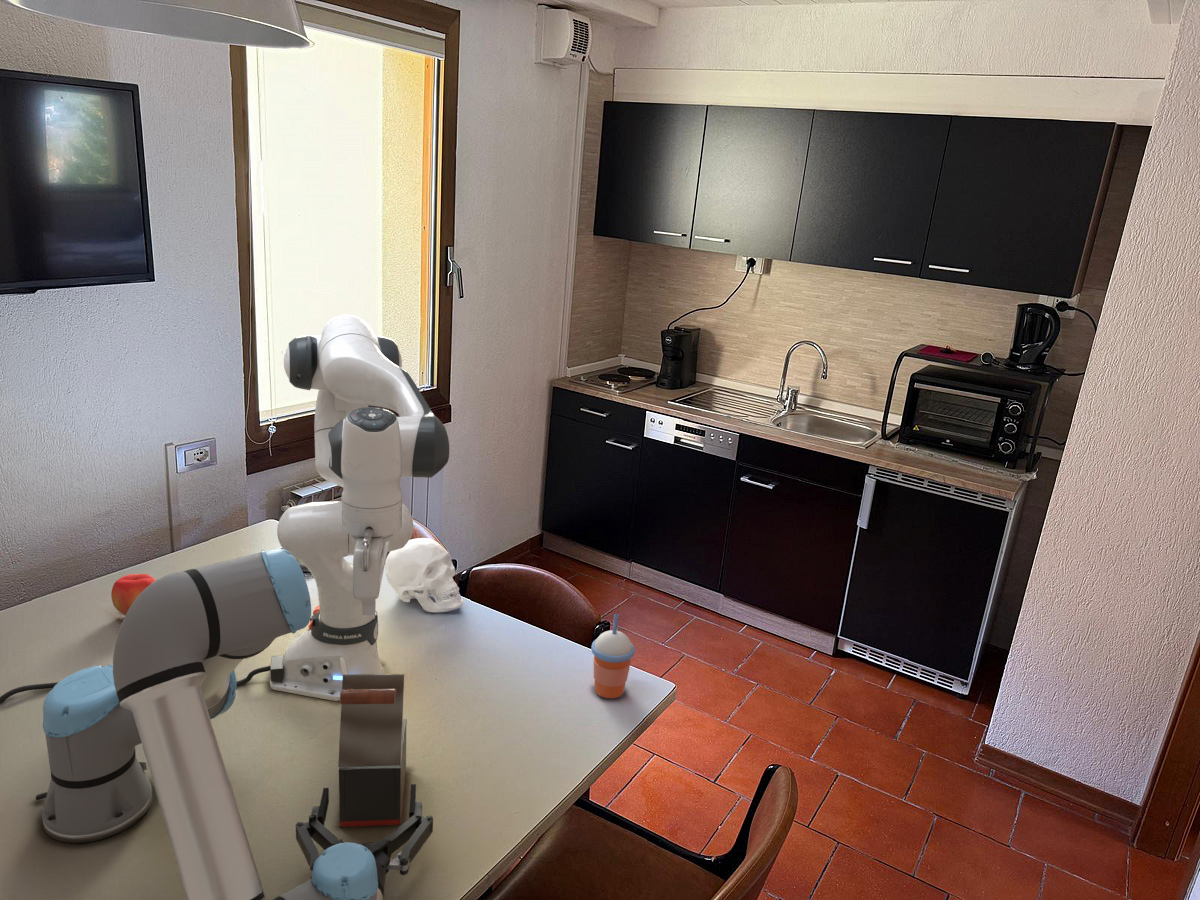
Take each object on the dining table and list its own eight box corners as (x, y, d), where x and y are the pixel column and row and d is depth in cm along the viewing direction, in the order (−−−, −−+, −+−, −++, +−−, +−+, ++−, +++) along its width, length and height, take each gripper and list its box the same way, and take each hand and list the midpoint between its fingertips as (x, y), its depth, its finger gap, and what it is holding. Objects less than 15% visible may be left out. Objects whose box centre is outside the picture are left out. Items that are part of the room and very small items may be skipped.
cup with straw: (626, 706, 176) (634, 628, 171) (583, 698, 178) (590, 621, 173) (633, 683, 185) (641, 608, 180) (592, 675, 186) (599, 601, 181)
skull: (448, 622, 203) (451, 561, 199) (372, 599, 211) (374, 540, 207) (477, 602, 215) (480, 543, 211) (405, 581, 223) (406, 524, 219)
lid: (343, 674, 138) (335, 682, 128) (404, 673, 139) (400, 681, 130) (339, 765, 136) (330, 780, 126) (401, 763, 137) (396, 778, 128)
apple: (164, 620, 195) (160, 580, 192) (116, 629, 189) (112, 588, 186) (157, 602, 202) (154, 563, 199) (111, 610, 197) (107, 571, 194)
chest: (350, 772, 151) (349, 719, 148) (406, 770, 153) (406, 718, 149) (339, 826, 138) (338, 769, 135) (400, 824, 140) (400, 768, 137)
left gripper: (261, 925, 117) (289, 815, 136) (446, 913, 121) (448, 808, 141) (258, 881, 114) (288, 776, 134) (448, 870, 119) (449, 770, 139)
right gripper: (388, 544, 120) (387, 632, 124) (398, 493, 139) (397, 570, 143) (341, 543, 119) (342, 632, 123) (358, 492, 138) (358, 570, 142)
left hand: (370, 792), depth 138 cm, fingers open, 13 cm apart
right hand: (372, 598), depth 133 cm, fingers open, 8 cm apart
